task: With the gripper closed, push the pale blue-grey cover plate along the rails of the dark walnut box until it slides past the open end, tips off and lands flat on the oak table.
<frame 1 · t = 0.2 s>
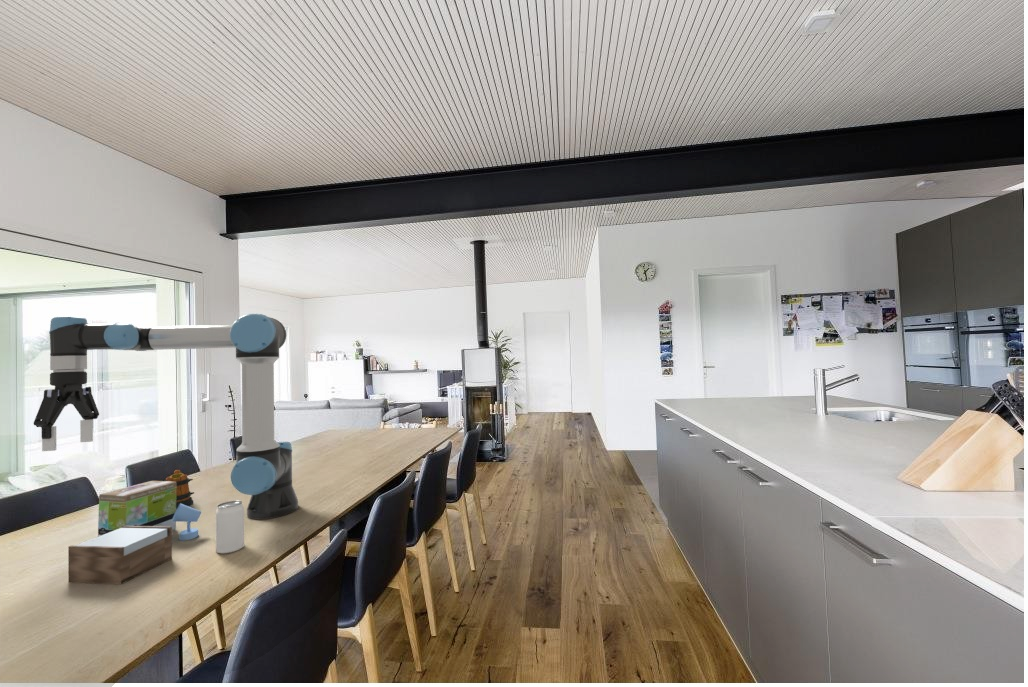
hand: (69, 446, 127), 28 cm above the table, fingers open, 13 cm apart
spotlight: (186, 538, 129), on the table
cover plate: (122, 545, 110), point 6 cm above the table, touching walnut box
walnut box: (122, 569, 109), on the table
tea box: (139, 538, 130), on the table
can: (230, 549, 120), on the table
mug: (177, 505, 160), on the table
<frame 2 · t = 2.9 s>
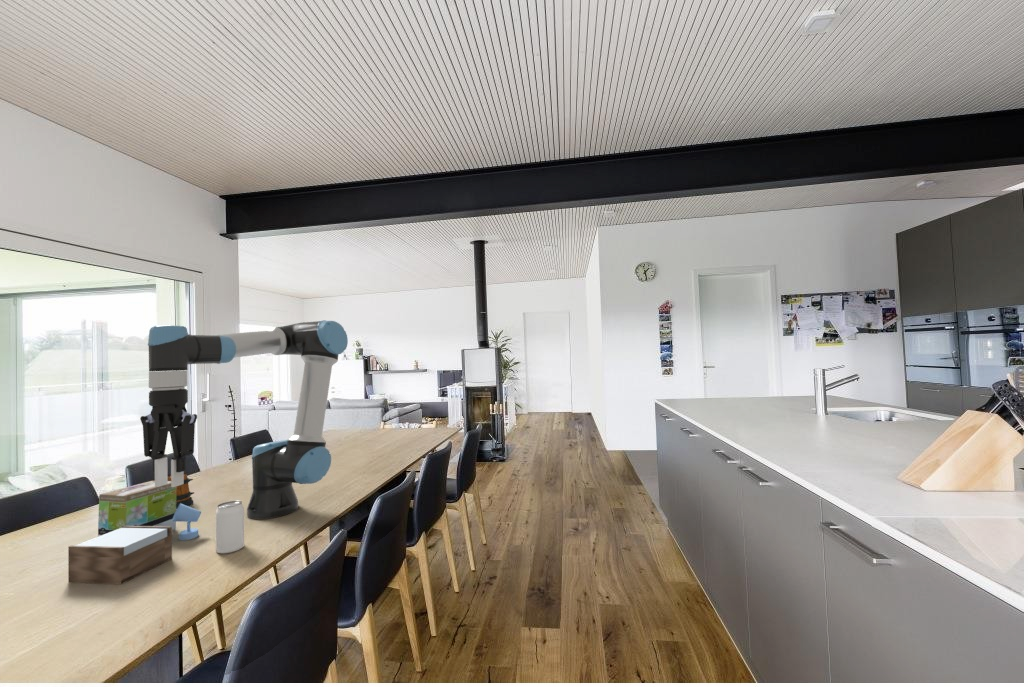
hand: (169, 485, 108), 21 cm above the table, fingers open, 4 cm apart
nothing on the table moved.
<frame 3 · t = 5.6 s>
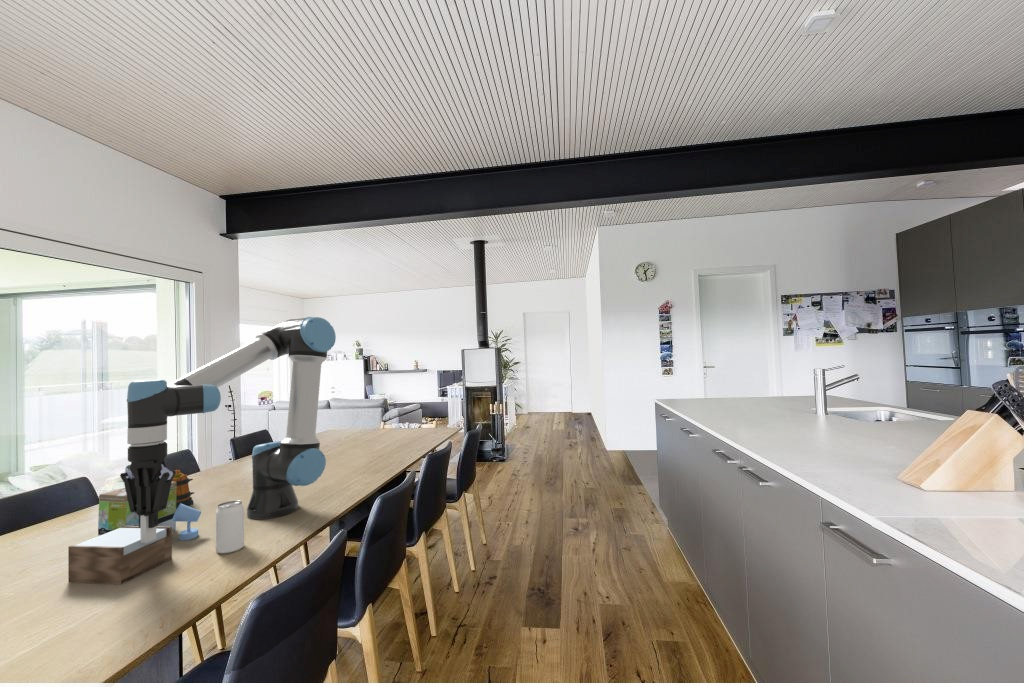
hand: (148, 540, 109), 7 cm above the table, fingers closed
cover plate: (121, 545, 110), point 6 cm above the table, touching gripper
everything else where it was.
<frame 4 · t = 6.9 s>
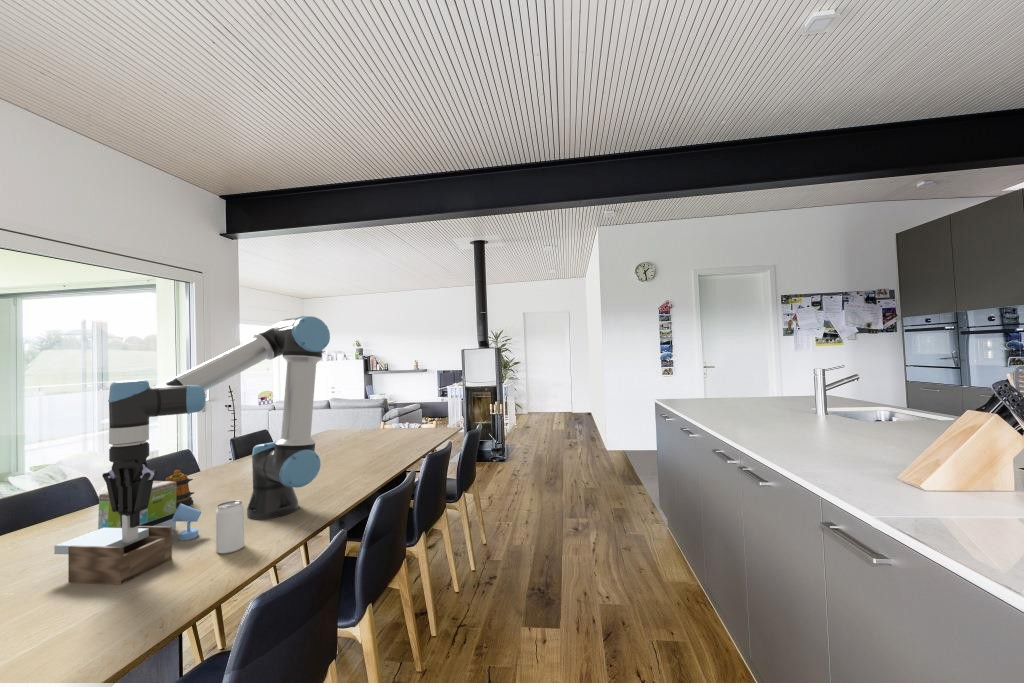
hand: (130, 540, 109), 7 cm above the table, fingers closed
cover plate: (103, 544, 110), point 6 cm above the table, touching gripper, walnut box
everything else where it was.
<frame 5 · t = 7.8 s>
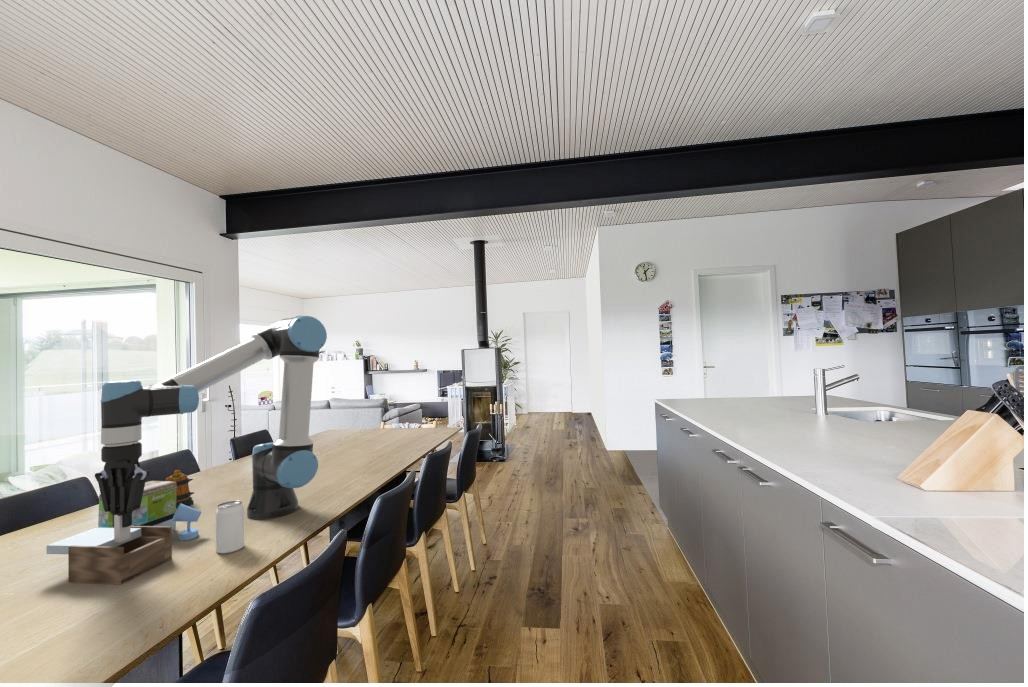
hand: (122, 540, 110), 7 cm above the table, fingers closed
cover plate: (95, 544, 110), point 6 cm above the table, touching gripper, walnut box
everything else where it was.
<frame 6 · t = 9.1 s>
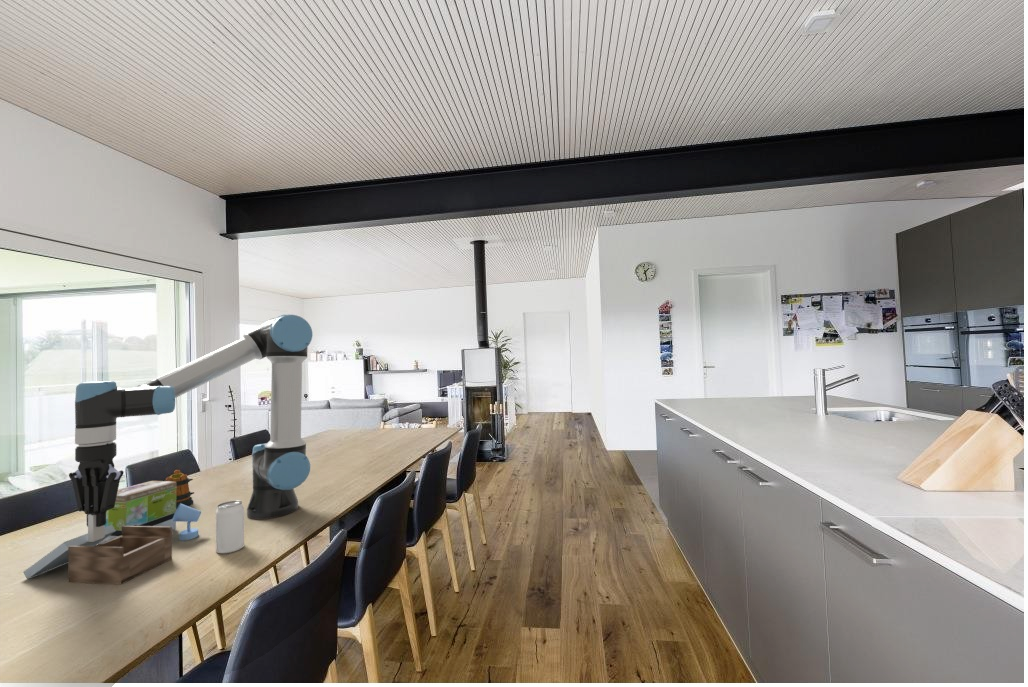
hand: (96, 539, 111), 7 cm above the table, fingers closed
cover plate: (73, 554, 111), point 4 cm above the table, tilted 33°, touching gripper
everything else where it was.
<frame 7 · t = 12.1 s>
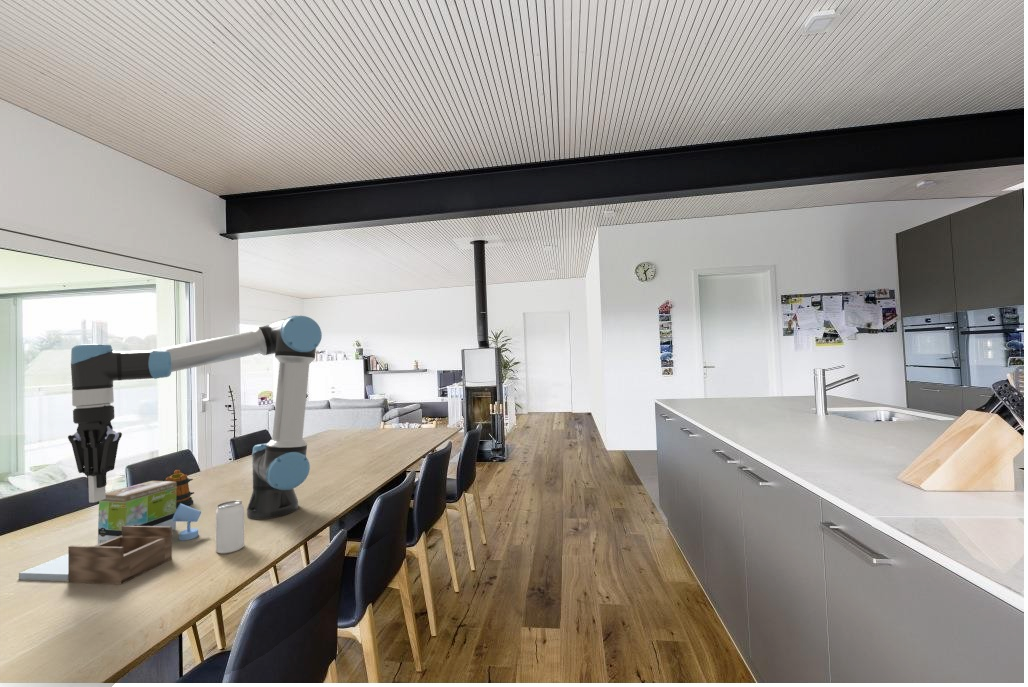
hand: (97, 500, 111), 17 cm above the table, fingers closed
cover plate: (69, 571, 111), on the table
everything else where it was.
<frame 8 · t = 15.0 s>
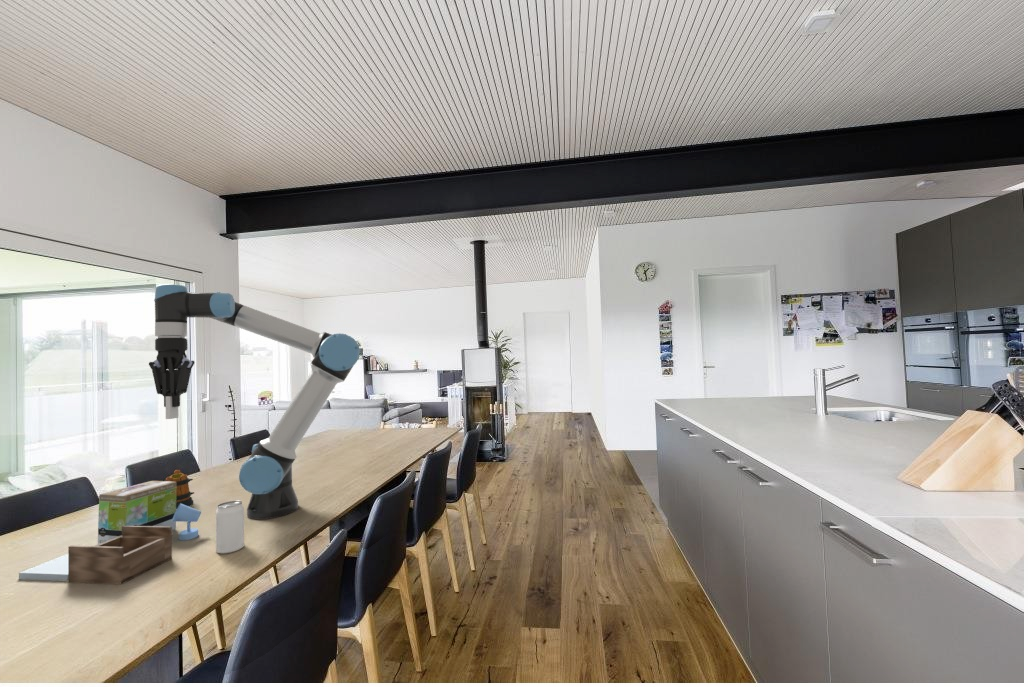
hand: (172, 418, 130), 34 cm above the table, fingers closed
nothing on the table moved.
at the end: cover plate on the table; cover plate tilted 0°; cover plate moved 16.3 cm from its start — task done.
